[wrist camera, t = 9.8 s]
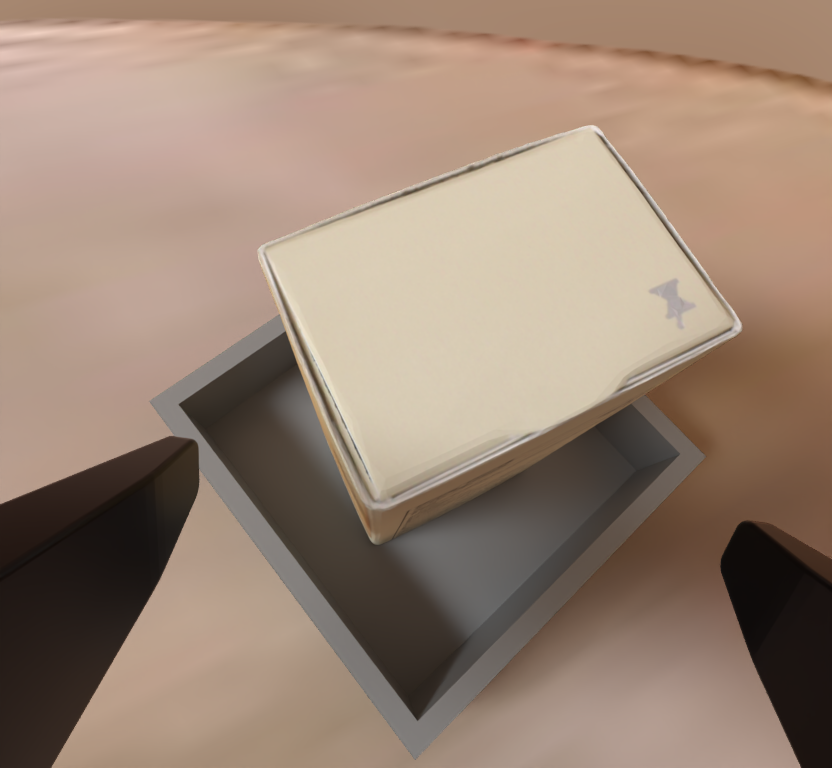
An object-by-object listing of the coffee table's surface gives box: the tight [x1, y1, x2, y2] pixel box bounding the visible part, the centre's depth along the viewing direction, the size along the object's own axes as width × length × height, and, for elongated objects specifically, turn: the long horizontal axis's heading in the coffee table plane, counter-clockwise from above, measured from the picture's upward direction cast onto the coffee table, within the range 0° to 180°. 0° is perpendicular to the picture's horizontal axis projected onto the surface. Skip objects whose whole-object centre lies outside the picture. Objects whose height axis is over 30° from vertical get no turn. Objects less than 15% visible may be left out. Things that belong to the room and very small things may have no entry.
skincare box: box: [258, 125, 742, 545], centre depth 13 cm, size 6×4×12 cm
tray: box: [149, 314, 706, 760], centre depth 18 cm, size 12×12×4 cm
